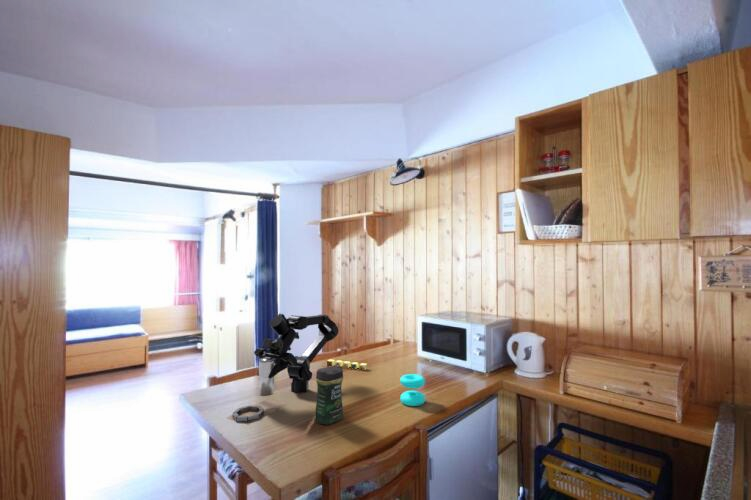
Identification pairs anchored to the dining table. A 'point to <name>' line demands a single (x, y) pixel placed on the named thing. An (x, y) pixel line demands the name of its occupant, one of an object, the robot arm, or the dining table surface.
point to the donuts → (412, 396)
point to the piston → (266, 376)
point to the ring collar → (247, 418)
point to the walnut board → (266, 405)
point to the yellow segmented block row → (347, 364)
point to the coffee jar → (329, 395)
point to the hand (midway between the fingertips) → (263, 376)
